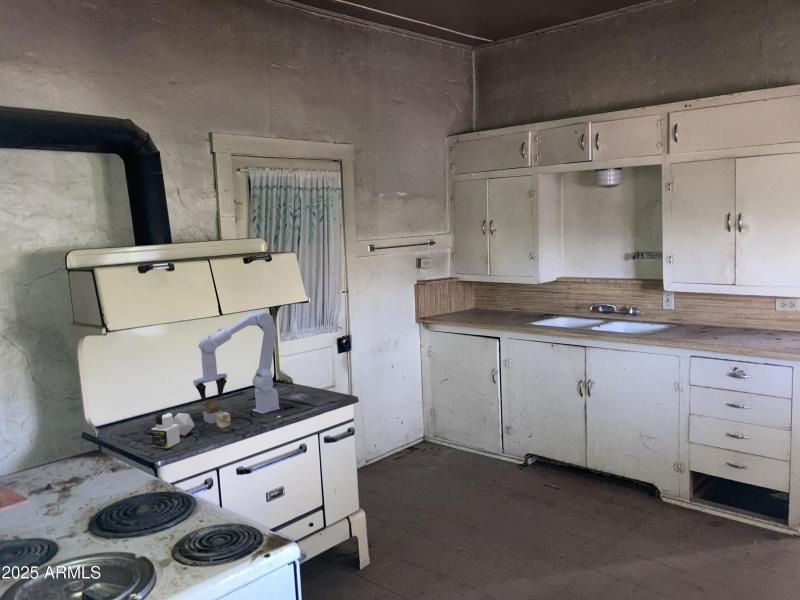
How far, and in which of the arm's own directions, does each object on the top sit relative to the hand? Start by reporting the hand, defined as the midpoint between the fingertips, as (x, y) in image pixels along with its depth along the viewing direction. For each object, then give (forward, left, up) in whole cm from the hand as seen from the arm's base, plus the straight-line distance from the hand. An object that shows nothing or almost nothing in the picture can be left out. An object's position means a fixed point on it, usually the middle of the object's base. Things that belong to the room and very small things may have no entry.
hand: (212, 398), depth 274 cm
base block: (0, 0, -10) cm, 10 cm away
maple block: (+1, +10, -10) cm, 14 cm away
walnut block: (0, 0, -6) cm, 6 cm away
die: (+17, +6, -10) cm, 21 cm away
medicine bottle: (+27, +13, -10) cm, 32 cm away
